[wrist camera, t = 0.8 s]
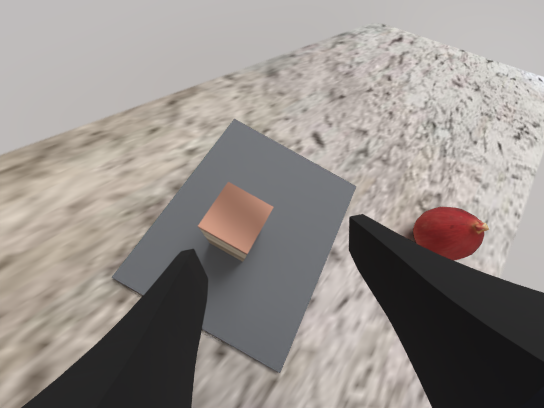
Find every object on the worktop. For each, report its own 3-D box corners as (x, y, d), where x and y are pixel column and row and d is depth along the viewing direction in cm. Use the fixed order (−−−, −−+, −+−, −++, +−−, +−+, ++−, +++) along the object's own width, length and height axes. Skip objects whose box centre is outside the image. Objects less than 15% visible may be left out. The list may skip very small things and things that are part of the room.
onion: (404, 208, 29) (465, 184, 21) (443, 231, 29) (517, 214, 21) (391, 246, 27) (453, 234, 19) (433, 271, 26) (511, 268, 19)
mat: (278, 370, 21) (280, 373, 20) (114, 277, 21) (111, 277, 20) (354, 187, 28) (356, 186, 28) (234, 121, 29) (234, 118, 28)
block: (243, 261, 23) (247, 253, 15) (209, 243, 23) (197, 225, 15) (261, 229, 24) (273, 207, 17) (229, 211, 24) (228, 181, 17)
